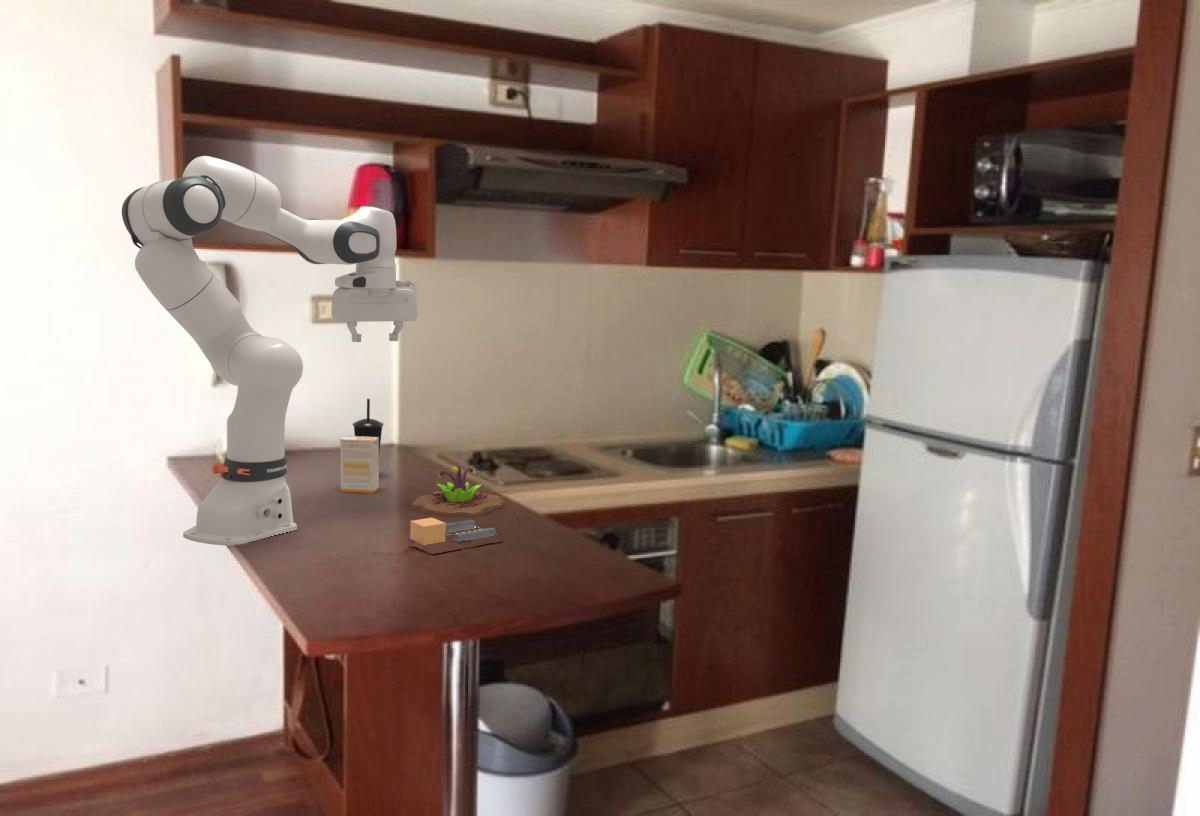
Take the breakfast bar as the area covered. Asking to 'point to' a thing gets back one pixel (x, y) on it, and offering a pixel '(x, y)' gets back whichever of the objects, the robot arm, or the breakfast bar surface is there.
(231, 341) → the robot arm
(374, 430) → the drinking cup
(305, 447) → the breakfast bar surface
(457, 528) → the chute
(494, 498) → the plant
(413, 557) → the breakfast bar surface
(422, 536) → the orange block
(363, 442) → the supplement box
